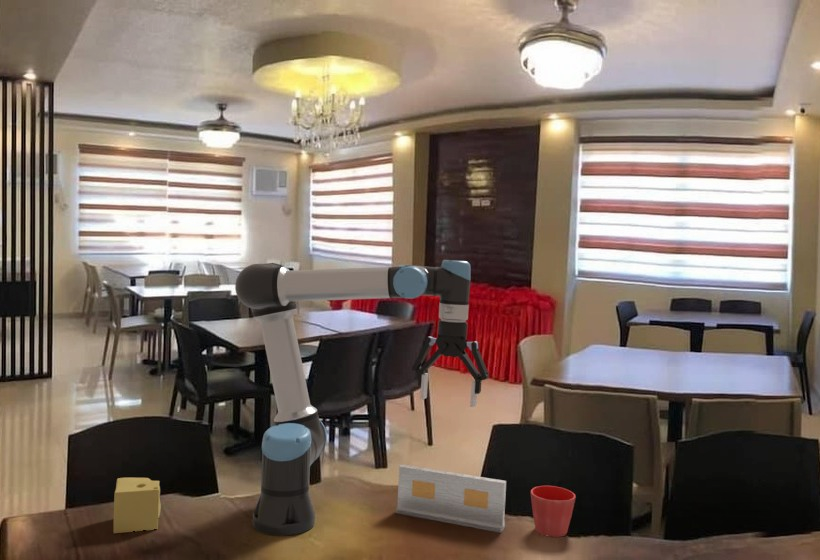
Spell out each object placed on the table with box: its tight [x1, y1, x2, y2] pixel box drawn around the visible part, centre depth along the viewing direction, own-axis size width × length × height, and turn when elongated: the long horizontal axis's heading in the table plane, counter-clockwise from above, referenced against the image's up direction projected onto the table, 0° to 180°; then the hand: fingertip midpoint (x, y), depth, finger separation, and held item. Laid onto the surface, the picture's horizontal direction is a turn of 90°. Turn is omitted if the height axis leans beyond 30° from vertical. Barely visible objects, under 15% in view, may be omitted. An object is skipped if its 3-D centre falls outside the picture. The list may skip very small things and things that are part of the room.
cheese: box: [113, 477, 162, 534], centre depth 163 cm, size 10×11×10 cm
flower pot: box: [530, 485, 577, 538], centre depth 169 cm, size 11×11×10 cm
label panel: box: [395, 464, 507, 533], centre depth 173 cm, size 28×4×12 cm, turn 69°
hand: (448, 402), depth 175 cm, fingers open, 13 cm apart
